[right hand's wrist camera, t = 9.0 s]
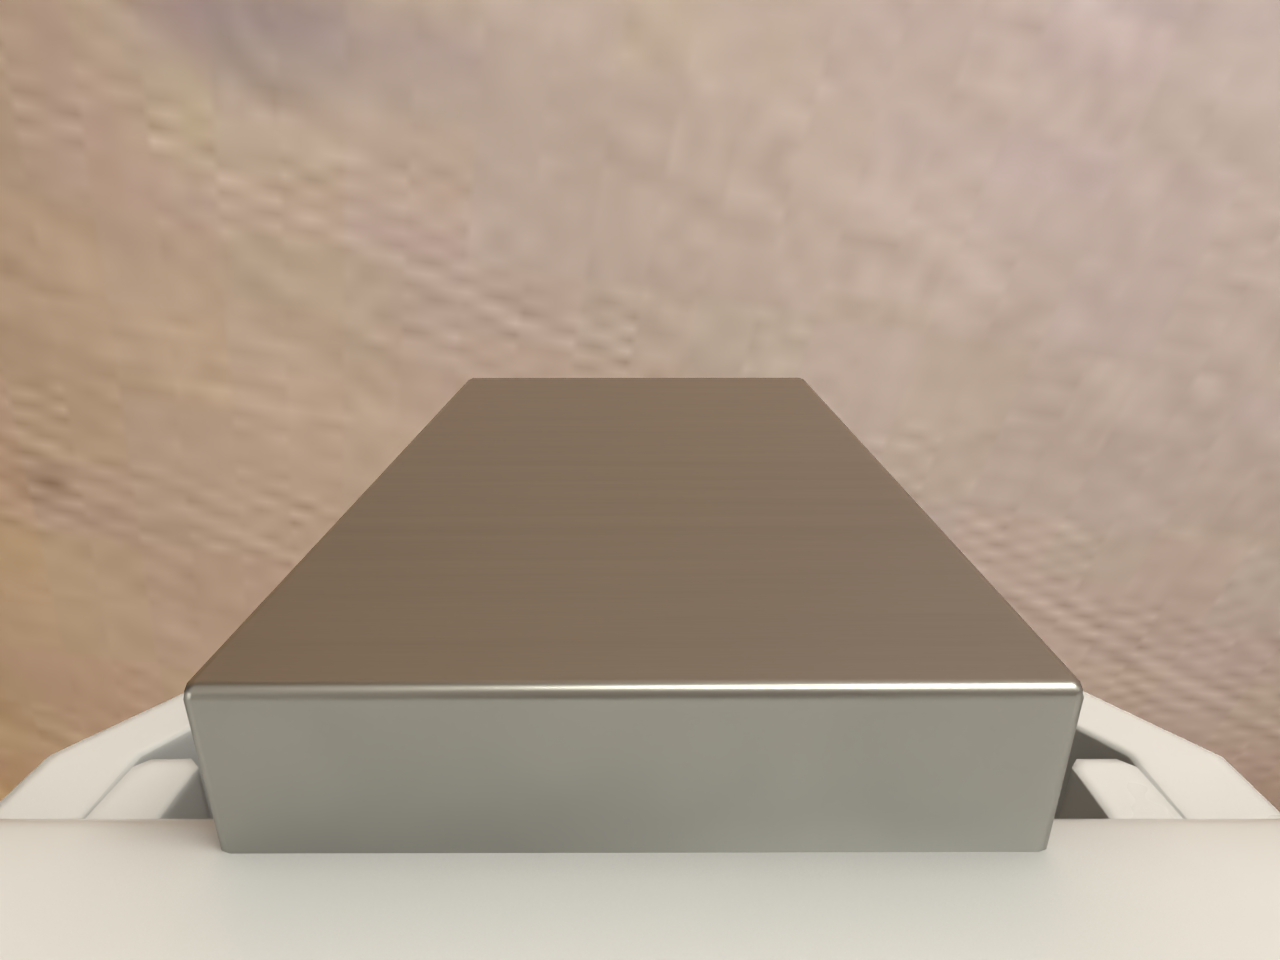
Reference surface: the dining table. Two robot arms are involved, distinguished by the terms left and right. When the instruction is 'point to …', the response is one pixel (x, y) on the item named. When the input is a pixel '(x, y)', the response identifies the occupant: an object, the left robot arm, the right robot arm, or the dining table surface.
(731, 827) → the bar
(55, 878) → the right robot arm
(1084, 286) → the dining table surface
